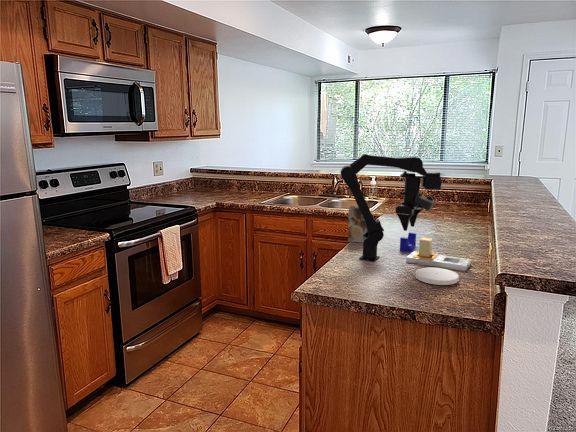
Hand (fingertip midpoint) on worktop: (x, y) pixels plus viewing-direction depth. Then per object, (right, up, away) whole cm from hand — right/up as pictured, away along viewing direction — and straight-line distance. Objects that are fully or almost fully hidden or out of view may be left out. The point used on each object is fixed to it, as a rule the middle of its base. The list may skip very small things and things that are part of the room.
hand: (408, 228), depth 170 cm
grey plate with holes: (+11, -13, -2) cm, 17 cm away
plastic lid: (+4, -18, -21) cm, 28 cm away
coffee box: (-15, -7, +32) cm, 36 cm away
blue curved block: (+5, -10, +19) cm, 22 cm away
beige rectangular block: (+6, -13, 0) cm, 14 cm away
